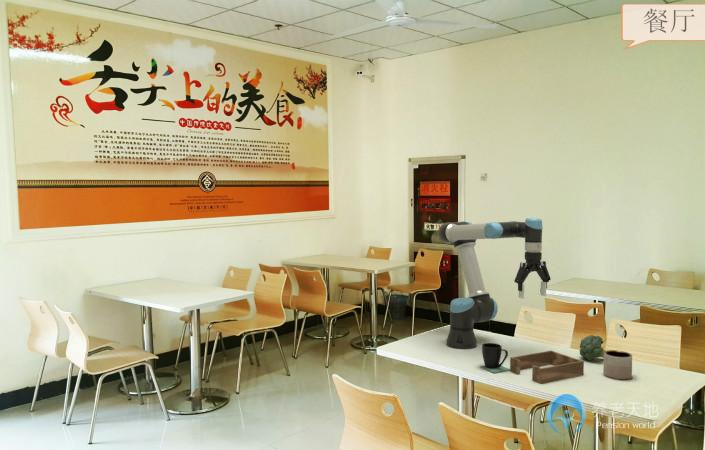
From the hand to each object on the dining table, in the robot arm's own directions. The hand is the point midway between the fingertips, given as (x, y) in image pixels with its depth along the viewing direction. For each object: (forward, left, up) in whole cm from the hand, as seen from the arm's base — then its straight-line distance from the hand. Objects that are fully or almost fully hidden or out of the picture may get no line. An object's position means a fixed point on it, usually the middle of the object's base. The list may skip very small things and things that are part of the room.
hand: (532, 296), depth 256 cm
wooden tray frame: (+20, -11, -29) cm, 37 cm away
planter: (+36, +13, -29) cm, 48 cm away
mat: (+6, -27, -29) cm, 40 cm away
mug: (+6, -27, -28) cm, 39 cm away
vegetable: (+16, +24, -29) cm, 41 cm away
